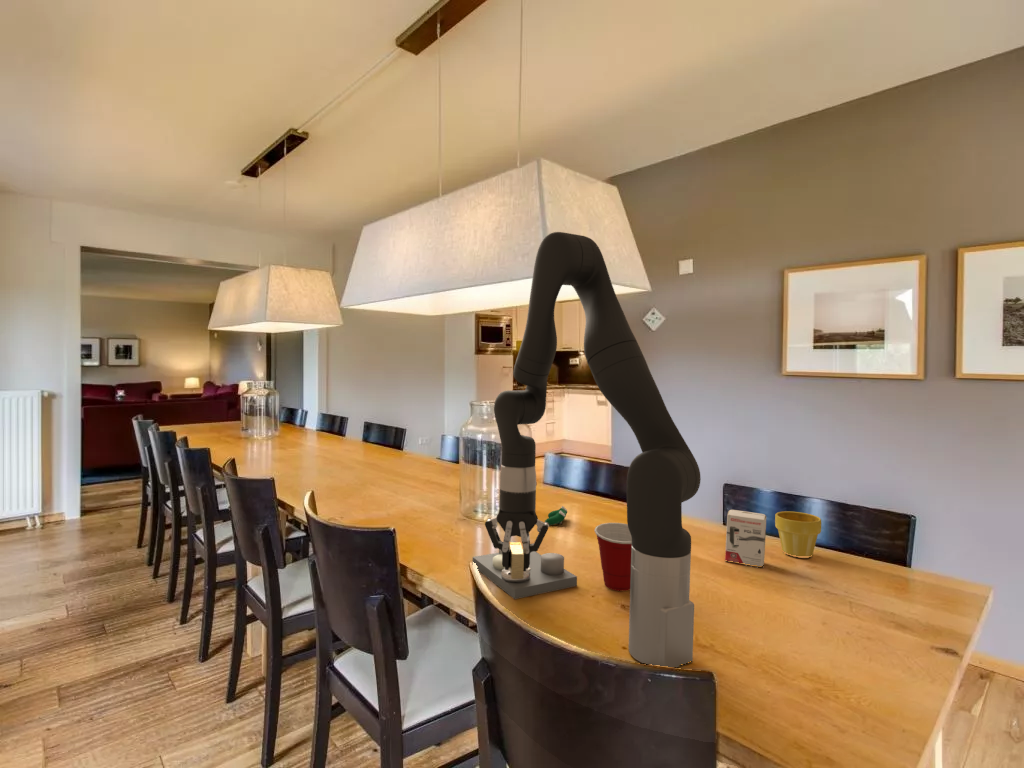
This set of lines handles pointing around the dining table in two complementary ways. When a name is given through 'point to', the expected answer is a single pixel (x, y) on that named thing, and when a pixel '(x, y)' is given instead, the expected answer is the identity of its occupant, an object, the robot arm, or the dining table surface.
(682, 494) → the robot arm
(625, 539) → the plastic cup
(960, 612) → the dining table surface
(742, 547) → the ink box
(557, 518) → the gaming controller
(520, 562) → the wing knob
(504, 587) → the base
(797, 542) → the plant pot
